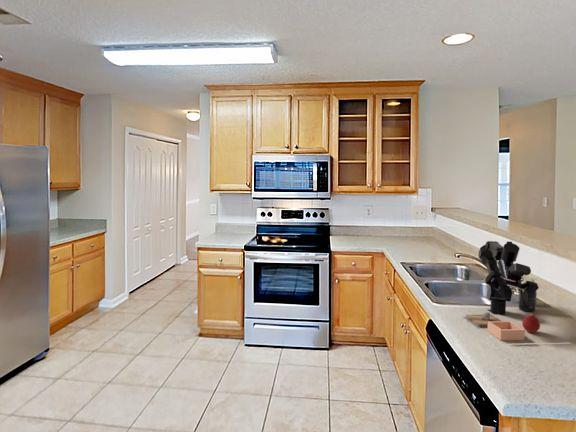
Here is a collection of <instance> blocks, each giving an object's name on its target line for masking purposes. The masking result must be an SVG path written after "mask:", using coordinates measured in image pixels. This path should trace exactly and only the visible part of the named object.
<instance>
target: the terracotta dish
mask: <svg viewBox="0 0 576 432" xmlns="http://www.w3.org/2000/svg"><path fill="white" fill-rule="evenodd" d="M486 332H488V333H489V334H490V335H492V336H493V337H495V338H496V339H498V340H499V341H501V342H503V341H504V342H507V341H508V342H509V341H511V342H513V341H524V340H525V334H526V333H525V332H526V330H525V329H524V328H523V327H521V326H519V325H517V324H516V323H514V322H512V321H511V320H509V321H508V320H505V321H504V320H503V321H502V320H501V321H488V328H486Z"/></svg>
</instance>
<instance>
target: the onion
mask: <svg viewBox="0 0 576 432" xmlns="http://www.w3.org/2000/svg"><path fill="white" fill-rule="evenodd" d="M521 324H522V326H523V327H522V328H523V329H524V330H525V332H528V334H534V333H537V332H538V331H539V329H540V327H541V323H540V321H539V319H538V318H537V316H535V315H534V313H533V312H529V315H527V316H525V317H524V318H523V320H522V323H521Z"/></svg>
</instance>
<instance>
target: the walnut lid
mask: <svg viewBox="0 0 576 432" xmlns="http://www.w3.org/2000/svg"><path fill="white" fill-rule="evenodd" d="M465 317H466V318H467V319H469V320H470V321H471V322H473V323H474V324H476V325H477V326H478V327H488V321H502V320H501V319H499V318H498V317H496V316H495V315H494V314H491V312H489V311H488V312H487V311H483V312H482V314H465Z"/></svg>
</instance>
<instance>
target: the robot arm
mask: <svg viewBox="0 0 576 432" xmlns="http://www.w3.org/2000/svg"><path fill="white" fill-rule="evenodd" d="M519 252H520V246H518V245H517V244H516V243H513V241H506V243H505V244H504V245H501V244H500V243H499V241H495V240H492V241H491V240H487V241H486V243H485V244H483V245H482V246H481V247H480V248H479V249H478V259H479V260H480V263H481V264H483V265H485V266H486V269H487V272H488V275H487V276H486V277H485V279H484V281H485V285H487V286H489V287H488V289H487V290H486V291H487V292H486V298H487V299H488V301H490V307H489V308H490V309H489V308H488V309H487V311H488V313H490V314H492V315H494V316H495V315H496V316H498V315H500V316H501V315H509V313H507V312H506V309H507V306H506V305H507V302H511V300H512V297H513V293H514V291H513V288H515V289H518V290H519V291H520V292H521V293H522V294H521V296H522V297H523V299H524V301H525V302H526V304H528V303H529V300H530V296H532V295H533V294H534V293H535V292H537V291H538V289H540V288H539V284H538V283H537V282H533V281H530V280H526V281H525V282H522V283H521V282H520V281H521V280H523V276H529V275H530V274H531V272H532V269H531V267H530V266H529V265H528V266H527V265H525V264H521V263H519V262H517V258H518V255H519ZM514 262H517V263H514ZM523 283H524V284H523Z"/></svg>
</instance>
